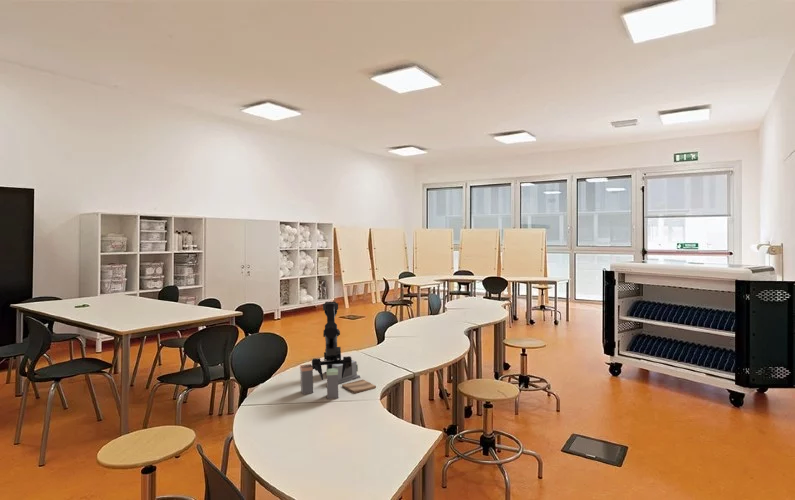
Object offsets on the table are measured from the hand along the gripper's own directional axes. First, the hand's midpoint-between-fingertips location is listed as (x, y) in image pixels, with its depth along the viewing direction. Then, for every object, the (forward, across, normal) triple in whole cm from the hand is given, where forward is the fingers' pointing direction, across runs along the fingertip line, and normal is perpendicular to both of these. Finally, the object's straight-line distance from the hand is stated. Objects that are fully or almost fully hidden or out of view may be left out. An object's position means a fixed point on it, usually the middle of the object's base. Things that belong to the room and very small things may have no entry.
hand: (332, 379), depth 206 cm
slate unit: (-11, +6, +22) cm, 25 cm away
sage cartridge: (+6, 0, +6) cm, 8 cm away
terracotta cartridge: (0, -12, +12) cm, 17 cm away
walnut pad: (-1, +13, +12) cm, 18 cm away
